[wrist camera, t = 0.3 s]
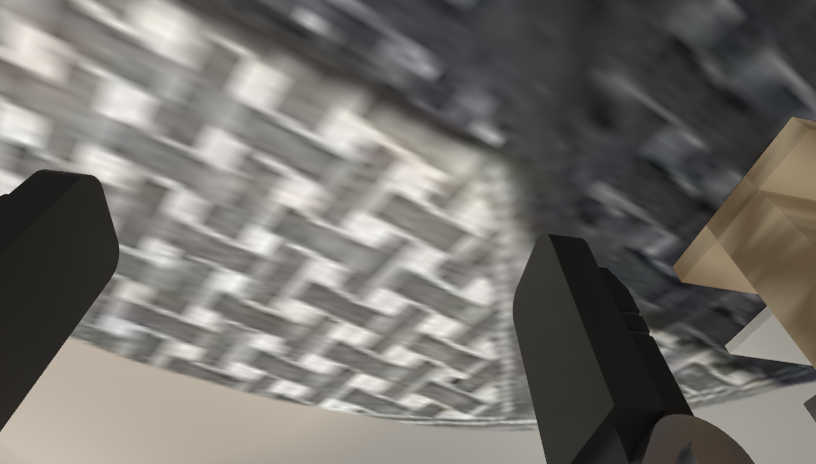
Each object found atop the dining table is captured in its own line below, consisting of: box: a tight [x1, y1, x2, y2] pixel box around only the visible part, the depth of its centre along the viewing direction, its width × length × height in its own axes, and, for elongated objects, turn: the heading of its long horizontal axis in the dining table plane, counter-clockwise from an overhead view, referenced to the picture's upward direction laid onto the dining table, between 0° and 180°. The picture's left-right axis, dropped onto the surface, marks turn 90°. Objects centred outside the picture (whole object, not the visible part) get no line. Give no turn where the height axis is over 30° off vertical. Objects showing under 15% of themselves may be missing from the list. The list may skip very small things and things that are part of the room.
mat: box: [725, 306, 812, 365], centre depth 37 cm, size 9×9×1 cm
